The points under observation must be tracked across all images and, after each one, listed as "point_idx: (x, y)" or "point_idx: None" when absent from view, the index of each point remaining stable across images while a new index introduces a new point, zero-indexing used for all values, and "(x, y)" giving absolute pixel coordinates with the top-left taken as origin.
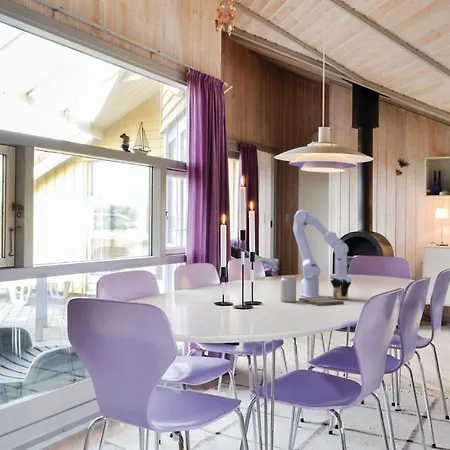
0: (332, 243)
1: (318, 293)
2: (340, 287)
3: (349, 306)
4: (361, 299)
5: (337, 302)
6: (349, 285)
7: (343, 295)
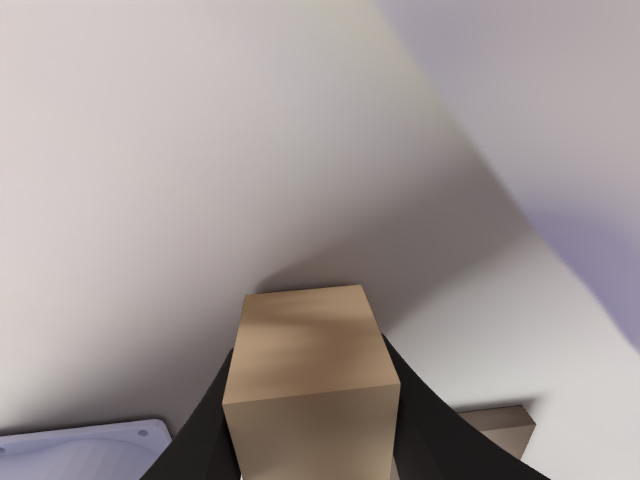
0: None
1: (133, 472)
2: (257, 430)
3: (606, 409)
4: (425, 123)
5: (517, 452)
6: (500, 451)
7: None
